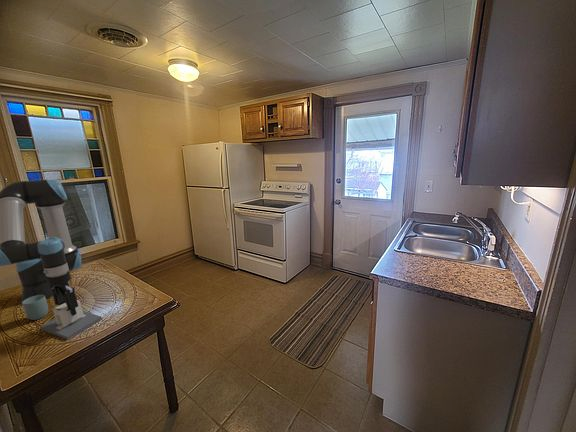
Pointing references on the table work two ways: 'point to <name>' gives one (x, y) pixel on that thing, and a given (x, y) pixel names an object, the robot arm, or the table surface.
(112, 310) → the table surface
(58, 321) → the housing
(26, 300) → the cup
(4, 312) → the table surface
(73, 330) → the board
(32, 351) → the table surface
